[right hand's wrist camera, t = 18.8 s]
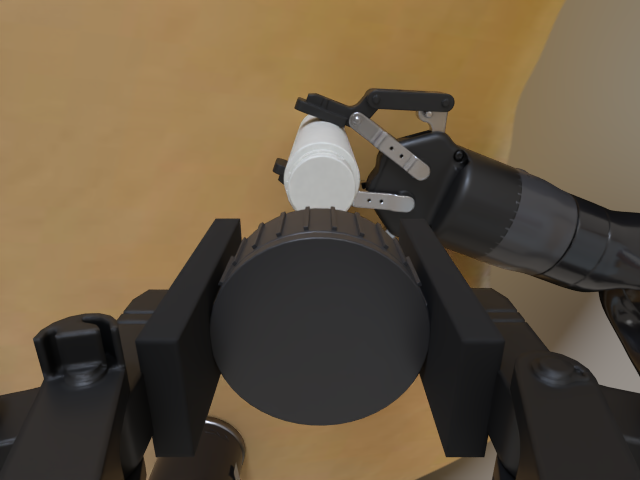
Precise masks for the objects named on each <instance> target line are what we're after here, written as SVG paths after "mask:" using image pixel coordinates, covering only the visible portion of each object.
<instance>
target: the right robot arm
mask: <svg viewBox="0 0 640 480" xmlns="http://www.w3.org/2000/svg"><path fill="white" fill-rule="evenodd" d="M241 242H242V239H241V225H240V219H215V221H214V222H213V224H212V225H211V227H210V228H209V230H208V231H207V233H206V234H205V236H204V237H203V239H202V240H201V242H200V243H199V245H198V246H197V248H196V249H195V251H194V252H193V254H192V255H191V257H190V258H189V260H188V261H187V263H186V264H185V266H184V267H183V269H182V270H181V272H180V273H179V275H178V276H177V278H176V279H175V281H174V282H173V284H172V285H171V287H170V288H169V290H148V291H146V292H145V293H143V294H141V295H140V296H138V297H137V298H135V299H133V300H132V302H131V303H130V304H129V305H128V307H127V308H126V309H125V310H124V314H121V316H120V317H119V318H118V319H117V320H115V319H114V318H113V317H112V316H110V315H105V314H100V313H90V314H81V315H76V316H71V317H67V318H65V319H62V320H59V321H57V322H54V323H52V324H51V325H49V326H47V327H46V328H44V329H42V330H41V331H40V332H39V333H38V334H37V335H36V336H35V337H34V338H33V341H34V344H35V348H36V352H37V355H38V359H39V362H40V366H41V369H42V373H43V377H44V381H43V383H42V385H41V387H38V388H34V389H30V390H25V391H20V392H15V393H10V394H5V395H0V480H146V468H145V462H144V457H143V455H144V453H145V451H146V448H147V446H148V444H149V442H150V440H151V437H152V438H153V444H154V449H155V455H156V457H194V456H195V453H196V450H197V447H198V444H199V440H200V437H201V434H202V431H203V428H204V425H205V422H206V418H207V415H208V412H209V409H210V406H211V403H212V400H213V396H214V393H215V390H216V387H217V384H218V381H219V378H220V374H221V372H220V370H219V369H218V367H217V364H216V362H215V359H214V357H213V353H212V347H211V337H210V317H211V313H212V308H213V302H214V300H215V298H216V296H217V293H218V291H219V289H220V286H219V285H218V284H219V282H220V279H221V277H222V275H223V273H224V271H225V269H226V266H227V264H228V262H229V260H230V258H231V256H233V257H235V255H236V253H237V251H238V248H239V246H240V244H241ZM399 243H400V246H401V248H402V250H403V253H404V255H405V257H408V256H409V258H410V260H411V262H412V264H413V266H414V269H415V271H416V273H417V275H418V277H419V279H420V282H421V284H422V286H420V289H421V291H422V293H423V295H424V298H425V300H426V302H427V308H428V312H429V318H430V340H429V349H428V353H427V356H426V360H425V362H424V364H423V366H422V369H421V371H420V372H419V374H420V377H421V380H422V383H423V386H424V389H425V392H426V396H427V399H428V402H429V405H430V408H431V411H432V414H433V418H434V421H435V424H436V427H437V430H438V433H439V436H440V440H441V443H442V446H443V449H444V452H445V455H446V457H484V456H485V451H486V445H487V440H488V434H489V437H490V439H491V441H492V443H493V445H494V448H495V450H496V452H497V457H496V462H495V467H494V472H493V477H492V480H640V393H635V392H630V391H625V390H620V389H615V388H610V387H606V386H602V385H599V384H598V382H597V380H596V378H595V377H594V376H593V374H592V373H591V372H590V370H589V369H588V368H586V367H585V366H583V365H582V364H580V363H579V362H578V361H576V360H574V359H571V358H569V357H567V356H564V355H562V354H558V353H554V352H550V351H549V350H548V349H547V347H546V346H545V345H544V344H543V342H542V341H541V340H540V339H539V337H538V336H537V335H536V333H535V332H534V331H533V330H532V328H531V327H530V326H529V325H528V323H527V322H525V320H524V318H523V317H522V316H521V315H520V313H519V312H517V310H516V308H515V307H514V306H513V304H512V303H511V302H510V301H509V299H508V298H506V297H505V296H503V295H501V294H500V293H498V292H497V291H495V290H493V289H492V288H470V286H469V285H468V283H467V282H466V280H465V279H464V277H463V276H462V274H461V273H460V271H459V270H458V268H457V267H456V265H455V264H454V262H453V261H452V259H451V258H450V256H449V255H448V253H447V252H446V250H445V249H444V247H443V246H442V244H441V243H440V241H439V240H438V238H437V237H436V235H435V234H434V232H433V231H432V229H431V228H430V226H429V225H428V223H427V222H426V220H425V219H400V229H399Z"/></svg>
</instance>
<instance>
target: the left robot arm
mask: <svg viewBox="0 0 640 480" xmlns="http://www.w3.org/2000/svg"><path fill="white" fill-rule="evenodd" d="M453 106H454V98H453V97H452V96H451V95H449V94H446V93H442V92H433V91H414V90H394V89H375V88H372V89H369V90H367V91H366V93H365V95H364V96H363V97H362V98H361V100H360V101H359V102H358V103H357V104H355V105H353V106H347V105H344V104H342V103H339V102H337V101H334V100H332V99H329V98H327V97H324V96H322V95H319V94H317V93H309V94H308V97H307V100H306V99H303V98H300V97H298V99H297V102H296V105H295V109H297V110H299V111H301V112H304V113H306V114H309V115H311V116H314V117H317V118H319V119H322V120H324V121H327V122H329V123H332V124H335V125H337V126H340V127H342V128H344V126H345V125H346V126H348V127H351V128H352V129H354V130H355V131H356V132H357V133H359V134H360V135H361V136H363V137H364V138H365V139H366V140H368V141H369V142H370V143H371V144H373V145H374V146H375V147H376V148H377V149H379V153H378V155H377V159H376V166H375V168H374V169H373V170H372V172H371V173H370V174H369V176H368V178H367V181H361V180H360V186H359V190H358V193H357V195H356V197H355V199H354V201H353V203H352V205H351V206H353V207H359V208H372V209H374V210H375V211H376V213H377V215H378V216H379V218H380V219H381V221H382V222H383V224H384V225H385V227H383V228H382V229H383V230H384V231H385V232H387V233H388V234H389V235H390V236H391V238H392V239H394V238H395V236H396V237H399V229H400V219H425V220H426V222H427V223H428V225H429V226H430V228H431V229H432V231H433V232H434V234H435V235H436V237H437V238H438V240H439V241H440V243H441V244H442V246H443V247H444V248H447V249H450V250H453V251H455V252H458V253H461V254H464V255H466V256H469V257H472V258H475V259H477V260H480V261H483V262H486V263H488V264H491V265H494V266H497V267H500V268H503V269H507V270H511V271H517V272H521V273H525V274H528V275H531V276H534V277H536V278H539V279H542V280H545V281H547V282H550V283H553V284H555V285H558V286H561V287H564V288H568V289H571V290H575V291H580V292H598V291H599V297H600V301H601V304H602V307H603V309H604V311H605V314H606V316H607V318H608V320H609V321H610V323H611V325H612V327H613V329H614V330H615V332H616V334H617V336H618V338H619V339H620V341H621V343H622V345H623V347H624V349H625V351H626V353H627V355H628V357H629V358H630V360H631V362H632V364H633V365H634V367H635V369H636V370H637V372H638V374H639V376H640V213H633V212H620V211H612V210H609V209H606V208H604V207H602V206H599V205H597V204H595V203H592V202H590V201H587V200H585V199H582V198H580V197H577V196H575V195H572V194H570V193H567V192H565V191H563V190H561V189H559V188H557V187H556V186H554V185H552V184H551V183H549V182H547V181H545V180H543V179H541V178H539V177H536V176H534V175H531V174H529V173H528V172H526V171H524V170H522V169H518V168H513V167H511V166H508V165H506V164H503V163H501V162H498V161H496V160H493V159H491V158H488V157H486V156H483V155H481V154H478V153H476V152H473V151H471V150H468V149H466V148H463V147H461V146H458V145H456V144H455V143H454V142H453V141H452V140H451V138H450V137H449V136H448V135H447V134H446V133H445V127H446V121H447V114H448V111H450V110H451V109H452V108H453ZM378 109H391V110H410V111H416V116H417V117H418V119H420V120H421V121H423V122H427V123H428V124H429V128H430V129H429V130H427V131H424V132H420V133H416V134H412V135H409V136H405V137H401V138H398V139H396V138H394V137H393V136H392V135H391V134H389V133H388V132H387V131H386V130H384V129H383V128H382V127H380V126H379V125H378V124H376V123H375V122H374V121H373V120H371V119H370V118H371V117H372V115H373V114H374V113H375V112H376V111H377V110H378ZM287 162H288V161H286V160H284V159H280V158H277V160H276V162H275V165H274V168H273V172H275V173H276V174H279V175H280V176H279V179H278V180H279V181H280V182H281V183H282V184H284V172H285V168H286V165H287ZM365 188H366V190H364V189H365ZM244 456H245V444H244V441H243V438H242V437H241V435H240V434H239V432H238V431H237V430H236V429H235V428H234V427H232V426H231V425H230V424H228V423H226V422H224V421H222V420H220V419H217V418H213V417H207V418H206V422H205V425H204V428H203V431H202V434H201V437H200V440H199V444H198V447H197V450H196V453H195V456H194V457H158V458H157V461H156V463H155V465H154V468H153V470H152V472H151V475H150V477H149V480H240V471H241V466H242V464H243V461H244Z"/></svg>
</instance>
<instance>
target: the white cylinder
mask: <svg viewBox="0 0 640 480" xmlns="http://www.w3.org/2000/svg"><path fill="white" fill-rule="evenodd" d="M284 186H285V190H286V193H287V196H288V200H289V202H290V204H291V205H292V207H293V209H294V210H295V211H298V210H303V209H305V207H307V206H310V209H312V208H329V209H331V206H333V207H335V209H336V210H342V211H347V210H348V209H349V208H350V207H351V205H352V203H353V201H354V199H355V197H356V195H357V193H358V190H359V186H360V173H359V169H358V165H357V163H356V160H355V157H354V154H353V151H352V148H351V146H350V143H349V140H348V137H347V134H346V131H345V129H344V128H342V127H340V126H337V125H335V124H332V123H329V122H327V121H324V120H322V119H319V118H317V117H314V116H311V115H307V116H306V117H305V118H304V119H303V121H302V122H301V124H300V127H299V130H298V133H297V136H296V138H295V141H294V144H293V147H292V150H291V153H290V156H289V159H288V162H287V165H286V168H285V172H284Z"/></svg>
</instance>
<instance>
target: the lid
mask: <svg viewBox="0 0 640 480" xmlns="http://www.w3.org/2000/svg"><path fill="white" fill-rule="evenodd" d="M218 285H219V286H220V289H219V291H218V293H217V296H216V298H215V300H214V302H213V308H212V313H211V317H210V337H211V347H212V353H213V357H214V359H215V362H216V364H217V367H218V369H219V370H220V372H221V374H222V376H223V377H224V379H225V380H226V381H227V383H228V384H229V385H230V387H231V388H232V389H233V390H234V391H235V392H236V393H237V394H238V395H239V396H240V397H241V398H243V399H244V400H245V401H246V402H248V403H249V404H250V405H252V406H253V407H255V408H257V409H258V410H260V411H262V412H264V413H266V414H268V415H271V416H273V417H275V418H278V419H281V420H284V421H288V422H293V423H297V424H305V425H336V424H342V423H347V422H352V421H355V420H359V419H362V418H365V417H367V416H369V415H372V414H374V413H376V412H378V411H380V410H382V409H383V408H385V407H387V406H388V405H390V404H391V403H392V402H394V401H395V400H396V399H398V398H399V397H400V396H401V395H402V394H403V393H404V392H405V391H406V390H407V389H408V388H409V386H410V385H411V384H412V383H413V382H414V380H415V379H416V377H417V376H418V374H419V372H420V371H421V369H422V366H423V364H424V362H425V360H426V356H427V353H428V349H429V340H430V318H429V312H428V308H427V302H426V300H425V298H424V295H423V293H422V291H421V289H420V286H422V284H421V282H420V279H419V277H418V275H417V273H416V271H415V269H414V266H413V264H412V262H411V260H410V258H409V256H408V257H405V255H404V253H403V250H402V248H401V246H400V243H399V241H398V240H397V238H395V239H392V238H391V236H390V235H389V234H388V233H387V232H385V231H384V230H383V229H382V226H381V224H379V223H377V224H374V223H373V222H371V221H369V220H367V219H366V218H363V217H361V216H360V214H359V213H358V212H355V214H353V213H350V212H346V211H342V210H336V209H335V207H333V206H331V209H329V208H312V209H310V206H307V207H305V209H303V210H298V211H294V212H290V213H287V214H286V213H285V212H282V213H281V215H280V216H279V217H277V218H275V219H273V220H271V221H269V222H267V223H265V224H264V223H263V222H262V223H261V224H260V225H259V227H258V229H257V230H256V231H255V232H254V233H253V234H252V235H250V236H249V237H248V238H247V239H246V238H245V237H244V238H243V240H242V242H241V244H240V246H239V248H238V251H237V253H236V255H235V257H233V256H231V258H230V260H229V262H228V264H227V266H226V269H225V271H224V273H223V275H222V277H221V279H220V282H219V284H218Z"/></svg>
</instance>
